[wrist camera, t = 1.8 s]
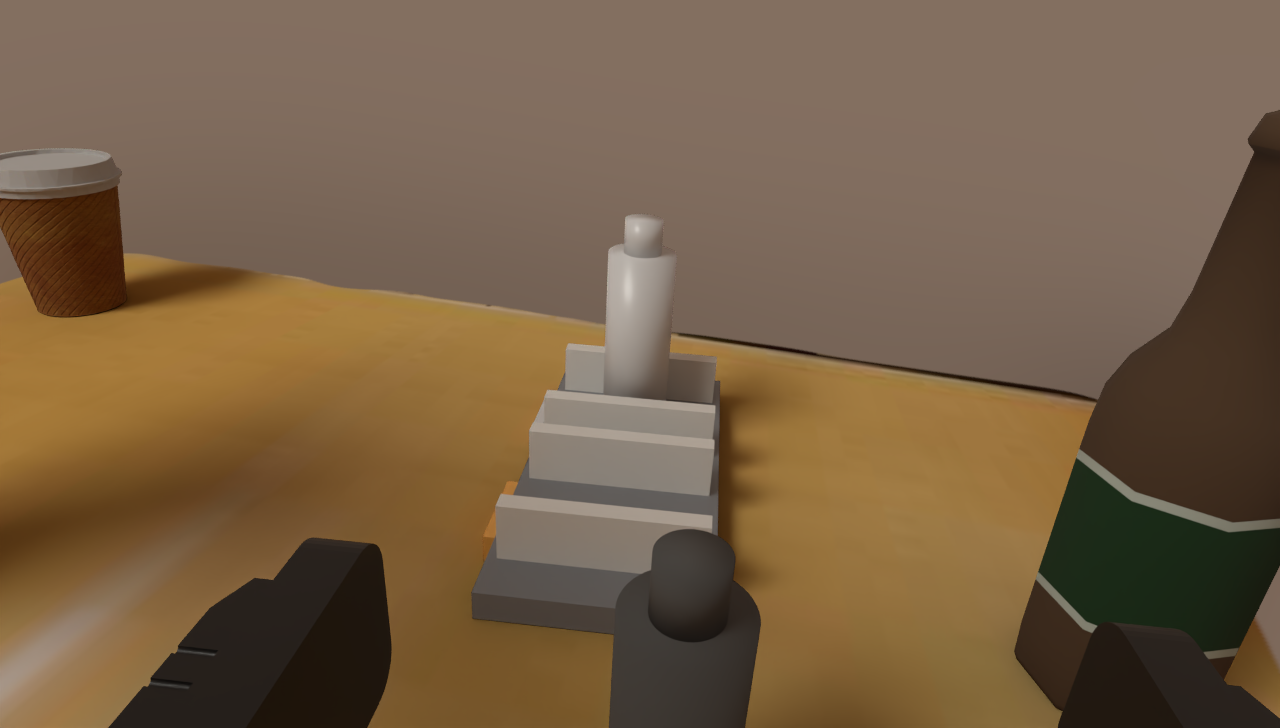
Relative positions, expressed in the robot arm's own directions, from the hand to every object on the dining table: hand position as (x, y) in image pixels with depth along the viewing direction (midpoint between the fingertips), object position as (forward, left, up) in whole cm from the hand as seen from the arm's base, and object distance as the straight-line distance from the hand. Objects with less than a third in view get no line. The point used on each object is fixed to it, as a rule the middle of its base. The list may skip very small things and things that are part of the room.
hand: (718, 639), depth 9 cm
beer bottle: (+3, +28, -20) cm, 35 cm away
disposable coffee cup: (-72, +12, -20) cm, 76 cm away
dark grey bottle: (-6, +8, -20) cm, 22 cm away
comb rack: (-22, +24, -20) cm, 38 cm away
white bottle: (-25, +29, -18) cm, 42 cm away
